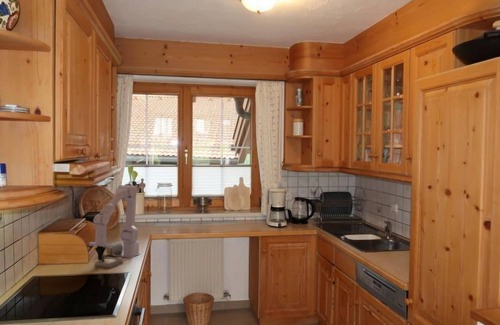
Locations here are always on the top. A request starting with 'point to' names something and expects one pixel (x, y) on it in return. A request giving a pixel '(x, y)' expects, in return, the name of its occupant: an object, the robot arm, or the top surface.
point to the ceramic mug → (115, 249)
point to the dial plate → (108, 265)
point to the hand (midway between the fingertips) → (100, 259)
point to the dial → (106, 259)
